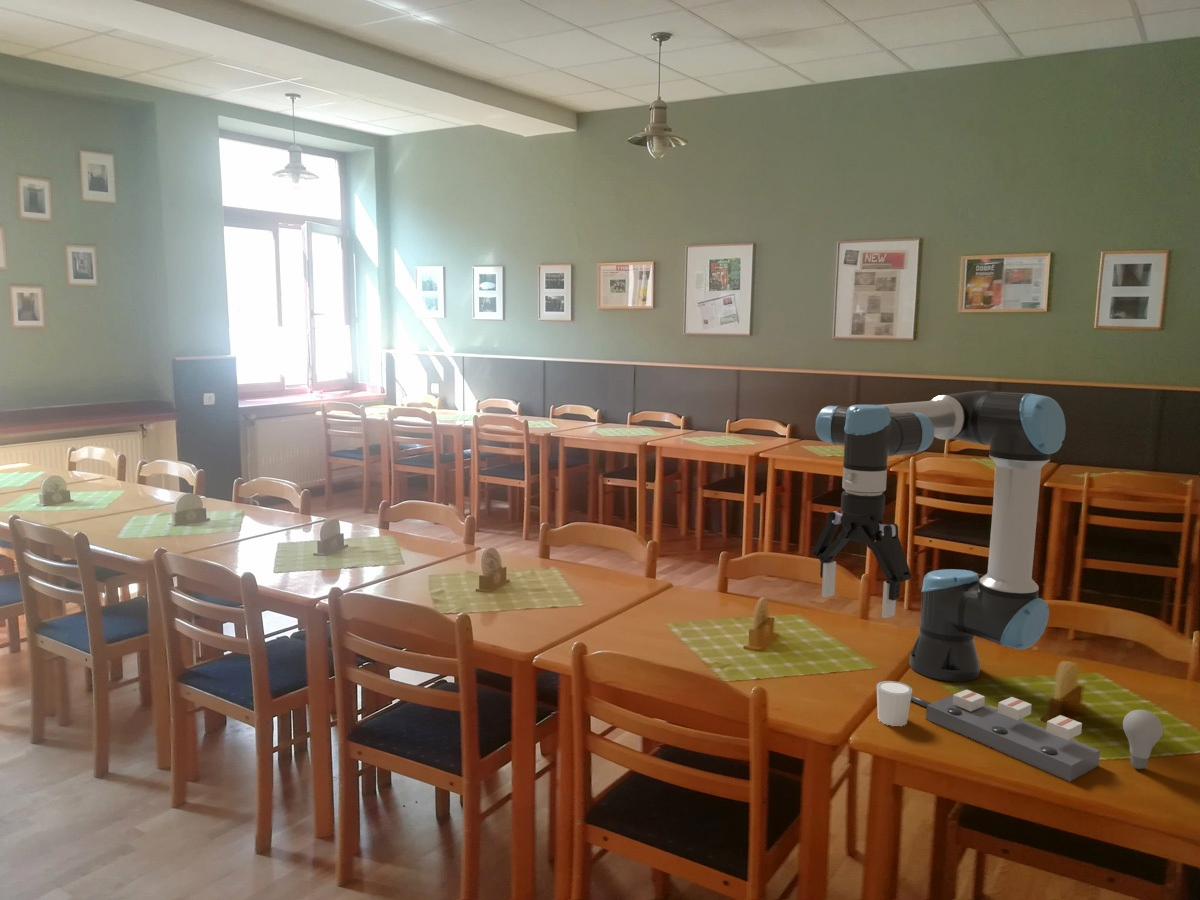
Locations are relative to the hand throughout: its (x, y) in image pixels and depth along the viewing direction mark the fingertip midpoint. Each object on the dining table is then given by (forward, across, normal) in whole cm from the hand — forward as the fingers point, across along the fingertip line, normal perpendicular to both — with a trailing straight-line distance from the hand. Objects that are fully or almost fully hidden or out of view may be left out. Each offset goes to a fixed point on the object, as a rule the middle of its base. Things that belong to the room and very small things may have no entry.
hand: (857, 606), depth 160 cm
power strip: (+28, +10, +28) cm, 41 cm away
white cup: (+28, -3, +17) cm, 33 cm away
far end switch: (+23, +24, +30) cm, 45 cm away
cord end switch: (+25, +5, +30) cm, 39 cm away
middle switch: (+23, +15, +30) cm, 40 cm away
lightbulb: (+28, +34, +38) cm, 58 cm away
